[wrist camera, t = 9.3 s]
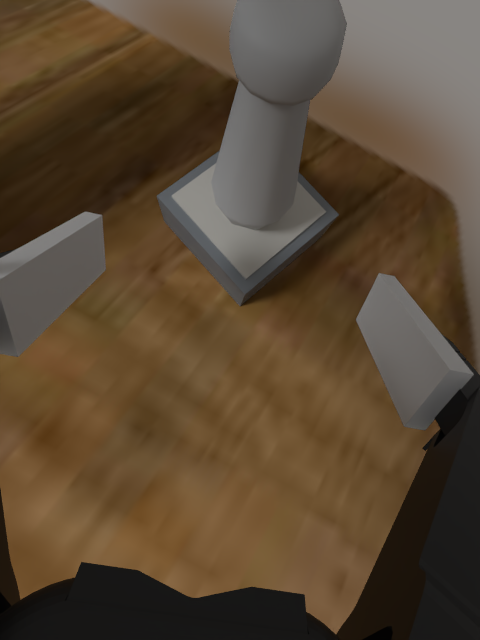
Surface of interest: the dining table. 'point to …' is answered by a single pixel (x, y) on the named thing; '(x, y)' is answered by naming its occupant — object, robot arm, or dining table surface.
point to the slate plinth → (241, 231)
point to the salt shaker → (273, 102)
